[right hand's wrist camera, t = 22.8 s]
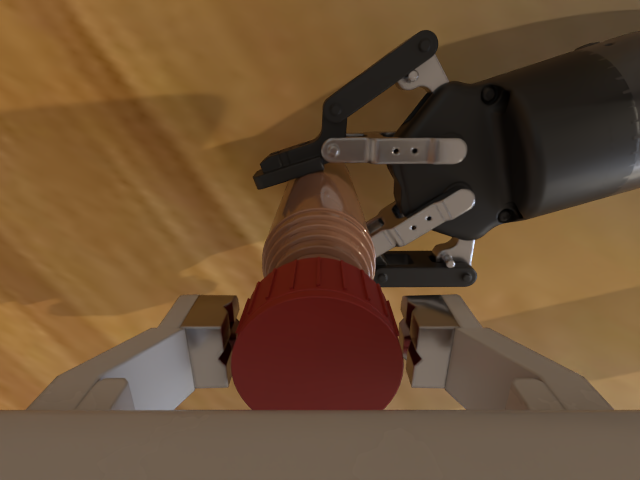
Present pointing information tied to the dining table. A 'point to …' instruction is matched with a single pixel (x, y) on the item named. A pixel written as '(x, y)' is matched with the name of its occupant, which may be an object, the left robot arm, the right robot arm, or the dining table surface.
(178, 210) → the dining table surface
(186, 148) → the dining table surface
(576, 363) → the dining table surface
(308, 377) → the cap
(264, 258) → the bottle
